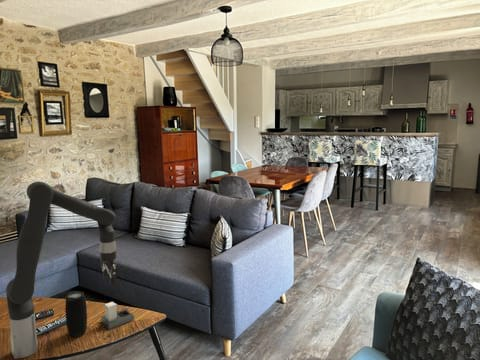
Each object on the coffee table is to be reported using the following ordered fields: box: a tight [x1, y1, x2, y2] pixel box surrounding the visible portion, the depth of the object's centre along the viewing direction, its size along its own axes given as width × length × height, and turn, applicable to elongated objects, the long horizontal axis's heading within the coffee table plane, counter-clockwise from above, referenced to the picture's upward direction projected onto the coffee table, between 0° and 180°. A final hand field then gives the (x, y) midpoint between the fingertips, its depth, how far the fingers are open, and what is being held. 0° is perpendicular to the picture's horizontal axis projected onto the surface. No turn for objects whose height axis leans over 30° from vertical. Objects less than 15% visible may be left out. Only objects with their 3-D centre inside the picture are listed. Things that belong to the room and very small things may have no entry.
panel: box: [100, 308, 135, 330], centre depth 185 cm, size 13×10×3 cm
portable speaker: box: [64, 290, 88, 338], centre depth 172 cm, size 9×9×20 cm
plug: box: [104, 301, 119, 322], centre depth 183 cm, size 5×4×10 cm
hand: (109, 281), depth 180 cm, fingers open, 8 cm apart
